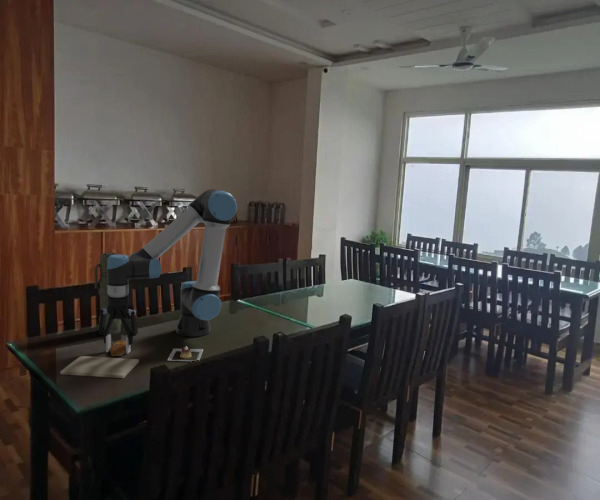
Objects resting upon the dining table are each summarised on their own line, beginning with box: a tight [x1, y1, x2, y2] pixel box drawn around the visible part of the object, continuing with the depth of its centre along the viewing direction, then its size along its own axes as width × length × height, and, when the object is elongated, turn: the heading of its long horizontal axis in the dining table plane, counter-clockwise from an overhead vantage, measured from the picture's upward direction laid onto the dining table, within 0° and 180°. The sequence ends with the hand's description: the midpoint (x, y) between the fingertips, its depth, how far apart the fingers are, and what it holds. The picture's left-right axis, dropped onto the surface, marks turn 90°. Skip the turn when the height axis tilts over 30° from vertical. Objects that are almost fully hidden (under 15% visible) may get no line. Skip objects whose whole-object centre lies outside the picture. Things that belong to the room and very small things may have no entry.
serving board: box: [59, 355, 140, 379], centre depth 165 cm, size 22×14×1 cm, turn 88°
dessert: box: [166, 345, 204, 363], centre depth 179 cm, size 12×12×5 cm
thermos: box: [93, 252, 122, 336], centre depth 199 cm, size 9×12×35 cm
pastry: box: [109, 339, 126, 357], centre depth 179 cm, size 9×7×4 cm
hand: (118, 351), depth 180 cm, fingers open, 7 cm apart
